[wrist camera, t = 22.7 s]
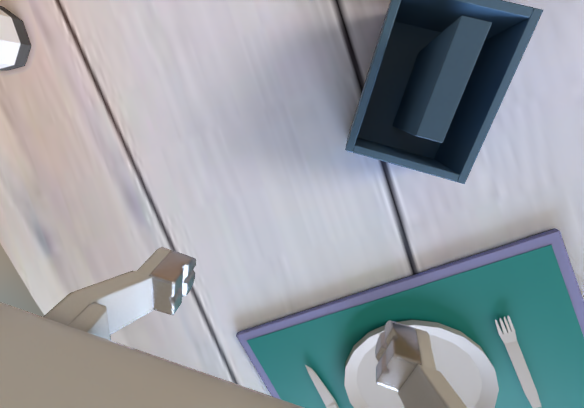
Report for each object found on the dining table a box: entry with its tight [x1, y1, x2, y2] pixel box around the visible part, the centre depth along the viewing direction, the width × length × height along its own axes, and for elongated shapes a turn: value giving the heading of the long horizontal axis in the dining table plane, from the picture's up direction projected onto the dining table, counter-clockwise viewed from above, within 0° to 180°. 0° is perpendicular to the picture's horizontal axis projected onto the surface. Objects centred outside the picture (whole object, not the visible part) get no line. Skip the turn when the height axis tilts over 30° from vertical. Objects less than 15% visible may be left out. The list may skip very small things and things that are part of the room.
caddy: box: [345, 0, 543, 184], centre depth 29 cm, size 14×11×15 cm
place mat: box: [236, 229, 584, 408], centre depth 45 cm, size 45×30×2 cm
